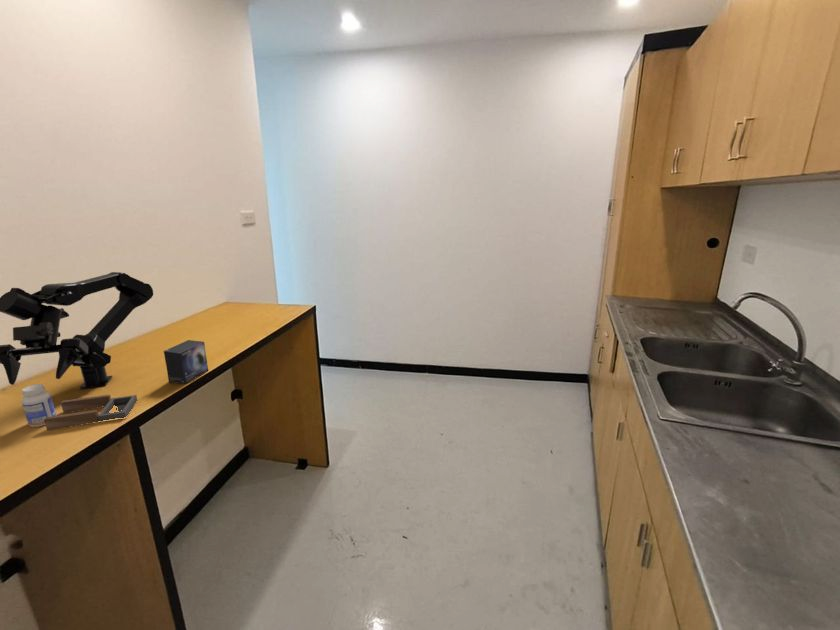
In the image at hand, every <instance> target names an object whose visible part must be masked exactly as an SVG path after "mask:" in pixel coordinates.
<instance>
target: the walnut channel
mask: <svg viewBox="0 0 840 630" xmlns="http://www.w3.org/2000/svg"><path fill="white" fill-rule="evenodd" d="M110 400H111V394H104V395H103V394H102V395H95V396H86V397H81V398H75V399H74V398H73V399H66V400H62V401H61V402H60V404H61V405H60V406H61V409H62V412H63V413H64V412H67V414H65V413H64V414H60V415H56V416H51V417H46V418H45V419H44V422H45V425H44V426H45V428H46V431H52V430H53V431H54V430H58V429H59V428H60V429H66V428H71V427H70V426H73V427H76V426H75V425H80V426H82V425H81V424H86V423H93V422H98V421H99V419H98V415H99V414H100V413H99V411H98V408H97V407H102V406H106V405H107V404H108V402H109V401H110ZM92 408H95V410H93V409H92ZM102 408H103V407H102ZM84 409H88V410H89V411H88V410H84ZM78 410H81V412H80V411H78ZM72 411H74V412H73V413H72ZM98 423H99V422H98ZM93 424H94V423H93ZM86 425H87V424H86ZM65 427H66V428H65Z"/></svg>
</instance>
